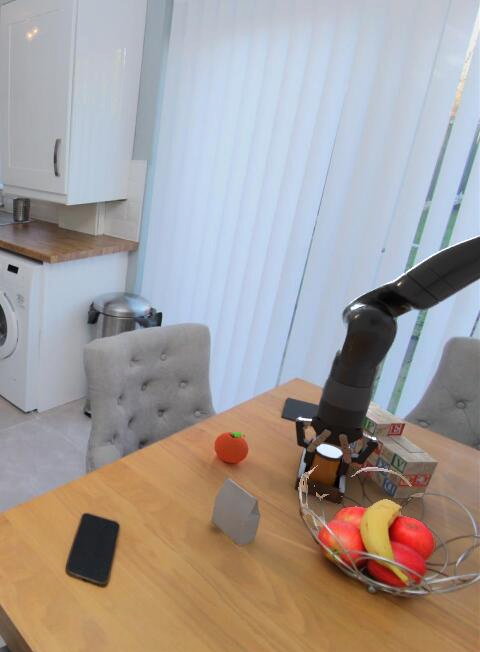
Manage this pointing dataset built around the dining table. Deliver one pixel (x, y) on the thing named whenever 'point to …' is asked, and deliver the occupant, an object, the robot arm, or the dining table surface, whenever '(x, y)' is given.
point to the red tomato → (231, 447)
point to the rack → (322, 485)
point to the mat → (298, 409)
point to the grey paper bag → (236, 513)
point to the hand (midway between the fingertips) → (323, 469)
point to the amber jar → (325, 464)
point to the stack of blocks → (394, 455)
